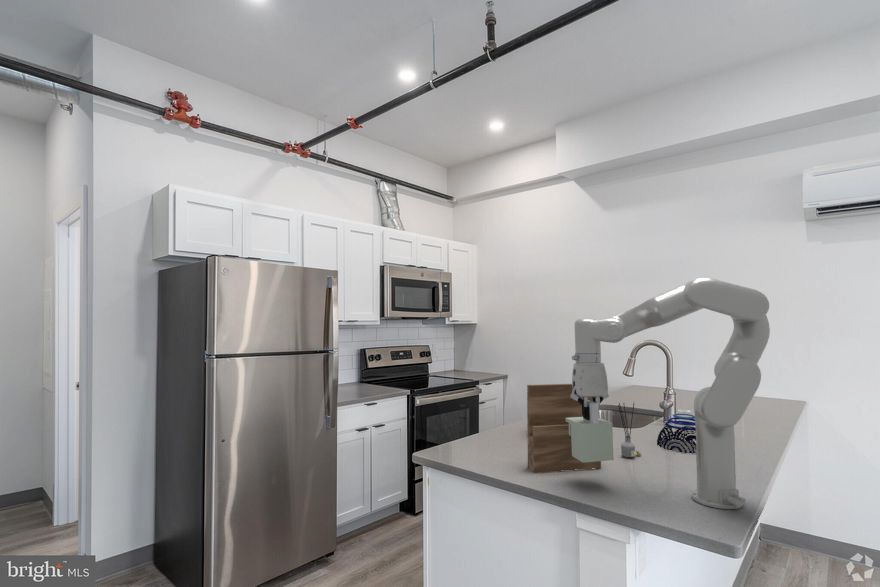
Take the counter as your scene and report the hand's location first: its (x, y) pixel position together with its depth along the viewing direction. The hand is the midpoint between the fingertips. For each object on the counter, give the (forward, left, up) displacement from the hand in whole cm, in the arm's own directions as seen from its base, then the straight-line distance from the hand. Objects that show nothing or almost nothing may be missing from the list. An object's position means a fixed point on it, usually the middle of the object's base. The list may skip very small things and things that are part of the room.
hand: (590, 418), depth 146 cm
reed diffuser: (+25, -29, -21) cm, 43 cm away
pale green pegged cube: (+1, 0, -12) cm, 12 cm away
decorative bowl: (+33, -59, -21) cm, 70 cm away
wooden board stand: (+17, 0, -20) cm, 27 cm away
